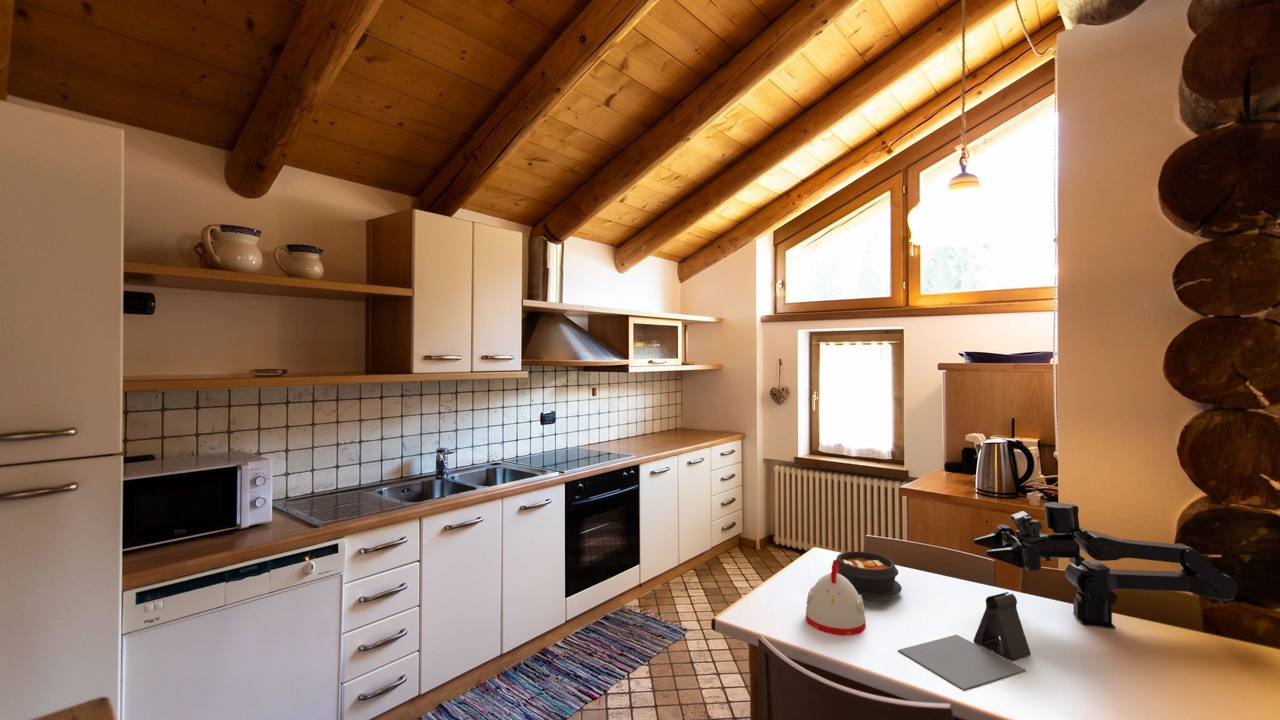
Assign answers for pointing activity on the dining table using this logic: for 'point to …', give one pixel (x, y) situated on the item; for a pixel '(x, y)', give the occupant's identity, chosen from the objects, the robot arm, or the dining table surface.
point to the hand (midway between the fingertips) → (979, 547)
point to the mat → (961, 661)
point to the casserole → (870, 575)
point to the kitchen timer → (835, 605)
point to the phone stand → (1002, 628)
